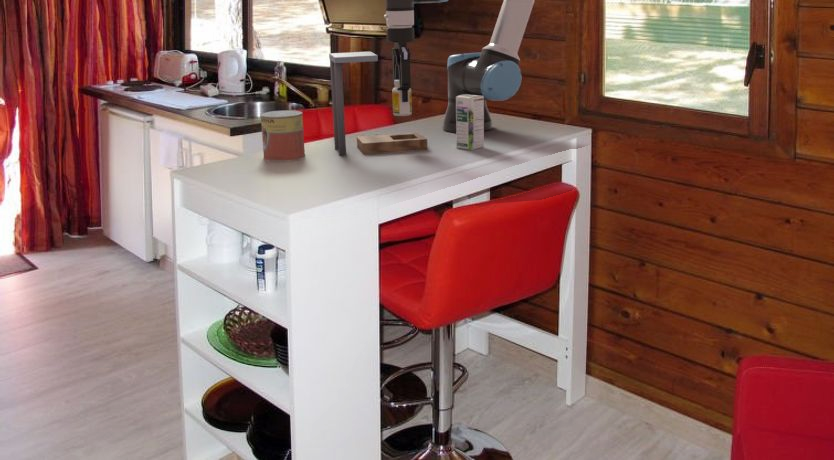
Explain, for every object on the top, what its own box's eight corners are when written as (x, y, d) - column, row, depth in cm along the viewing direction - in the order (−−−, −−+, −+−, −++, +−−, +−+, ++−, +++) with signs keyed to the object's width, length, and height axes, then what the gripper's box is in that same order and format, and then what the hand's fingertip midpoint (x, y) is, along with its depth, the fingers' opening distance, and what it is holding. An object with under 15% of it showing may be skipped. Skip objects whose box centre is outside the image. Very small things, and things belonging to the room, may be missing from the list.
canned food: (259, 155, 255) (255, 112, 252) (298, 151, 260) (295, 109, 256) (269, 163, 245) (266, 118, 242) (310, 158, 250) (307, 114, 246)
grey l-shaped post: (374, 145, 265) (370, 51, 258) (381, 153, 254) (377, 55, 246) (334, 148, 263) (329, 53, 255) (339, 156, 252) (334, 57, 244)
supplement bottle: (405, 112, 262) (404, 78, 259) (415, 114, 257) (415, 80, 255) (389, 114, 259) (388, 80, 256) (399, 116, 255) (398, 81, 252)
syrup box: (455, 148, 258) (454, 96, 254) (469, 144, 262) (468, 93, 258) (471, 150, 254) (470, 97, 250) (484, 147, 258) (484, 95, 254)
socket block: (419, 142, 267) (418, 132, 266) (427, 149, 257) (427, 139, 256) (357, 146, 264) (356, 136, 263) (363, 154, 253) (362, 143, 252)
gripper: (380, 25, 260) (383, 108, 266) (392, 29, 242) (395, 117, 249) (407, 24, 261) (409, 106, 267) (420, 28, 244) (422, 116, 250)
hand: (402, 111), depth 258 cm, fingers closed on supplement bottle, 5 cm apart
